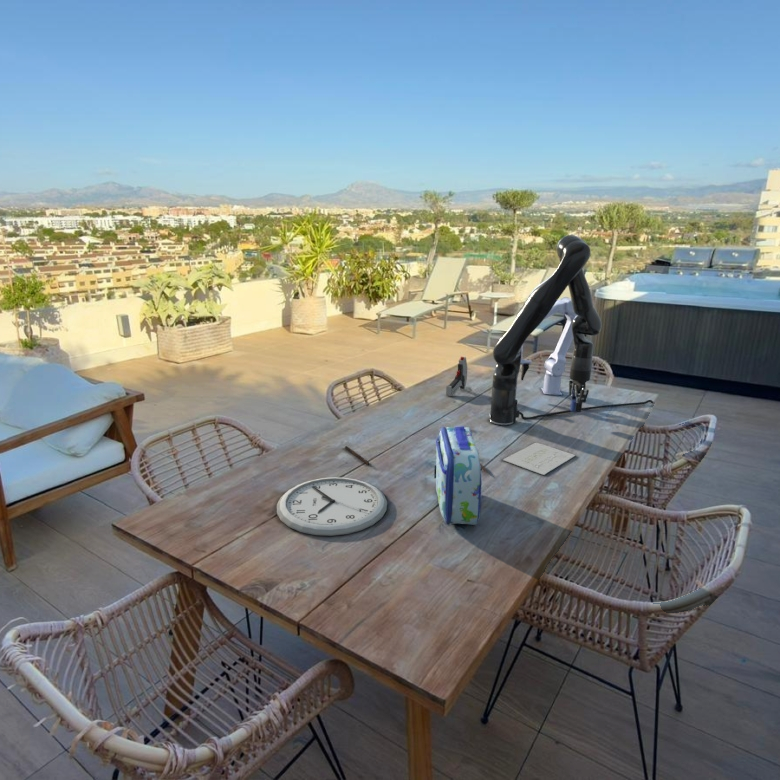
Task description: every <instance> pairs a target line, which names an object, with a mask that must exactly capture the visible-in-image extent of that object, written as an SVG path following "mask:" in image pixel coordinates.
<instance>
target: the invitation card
mask: <svg viewBox="0 0 780 780" xmlns="http://www.w3.org/2000/svg"><path fill="white" fill-rule="evenodd" d="M576 456H577V455H576V454H573V453H570V452H567V451H565V450H561V449H558V448H555V447H552V446H549V445H546V444H543V443H539V442H534V443H532V444H529V445H528V446H526V447H524V448H522V449H520V450H518V451H516V452H514V453H512V454H510V455H509V456H507V457H505V458H503V459H502V461H503V462H506V463H509V464H511V465H514V466H518V467H520V468H523V469H525V470H528V471H531V472H534V473H536V474H539V475H541V476H545V475H547V474H548V473H550V472H552V471H554V469H556V468H558V467H559V466H561V465H563V464H564V463H566V462H568V461H570V460H571V459H572V458H574V457H576Z"/></svg>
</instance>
